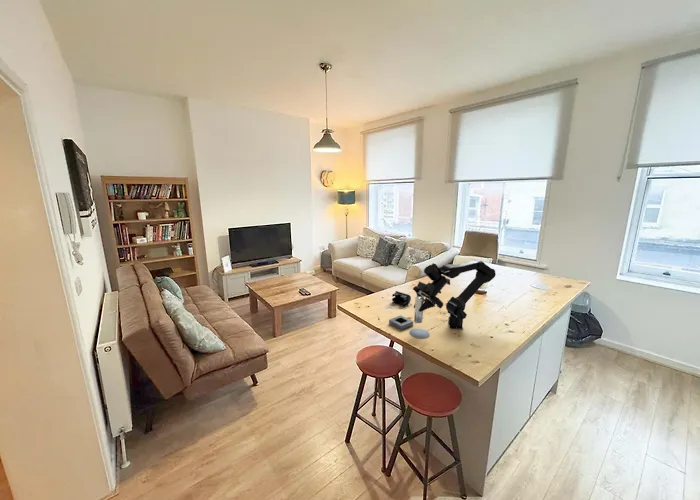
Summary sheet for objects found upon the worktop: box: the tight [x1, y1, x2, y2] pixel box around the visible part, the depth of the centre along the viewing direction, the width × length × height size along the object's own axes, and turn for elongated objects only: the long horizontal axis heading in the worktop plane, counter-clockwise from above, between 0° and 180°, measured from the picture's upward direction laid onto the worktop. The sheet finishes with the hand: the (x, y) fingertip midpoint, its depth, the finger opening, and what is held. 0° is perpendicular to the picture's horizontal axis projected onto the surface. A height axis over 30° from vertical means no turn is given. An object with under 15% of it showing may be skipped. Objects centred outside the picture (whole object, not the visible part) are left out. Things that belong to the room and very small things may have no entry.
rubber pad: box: [409, 328, 431, 340], centre depth 144 cm, size 10×10×1 cm
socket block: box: [388, 315, 414, 331], centre depth 152 cm, size 9×9×3 cm
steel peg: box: [413, 296, 425, 324], centre depth 142 cm, size 4×4×12 cm
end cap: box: [391, 290, 412, 307], centre depth 182 cm, size 10×7×7 cm
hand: (416, 309), depth 141 cm, fingers closed on steel peg, 4 cm apart
